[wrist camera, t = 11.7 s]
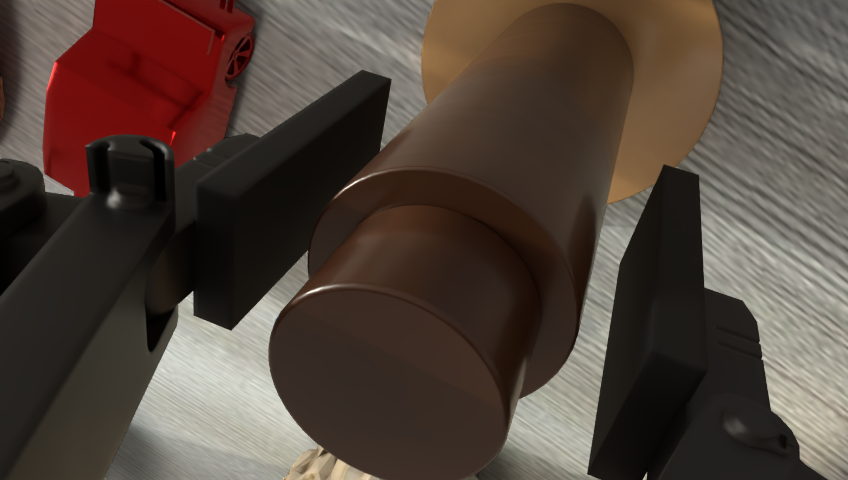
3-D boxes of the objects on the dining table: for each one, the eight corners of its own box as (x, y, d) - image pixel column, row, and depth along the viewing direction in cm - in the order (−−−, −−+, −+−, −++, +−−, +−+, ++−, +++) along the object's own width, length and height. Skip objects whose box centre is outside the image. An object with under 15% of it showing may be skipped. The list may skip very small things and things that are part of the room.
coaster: (782, -44, 19) (785, -42, 19) (652, 238, 25) (651, 245, 24) (458, -125, 21) (453, -125, 20) (404, 155, 26) (399, 161, 26)
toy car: (151, -65, 25) (50, -50, 21) (275, 6, 25) (196, 35, 21) (109, 208, 33) (30, 257, 29) (202, 264, 33) (135, 320, 29)
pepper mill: (657, 25, 20) (609, 327, 7) (605, 161, 23) (501, 561, 10) (510, -15, 21) (233, 191, 8) (476, 120, 24) (225, 441, 11)
